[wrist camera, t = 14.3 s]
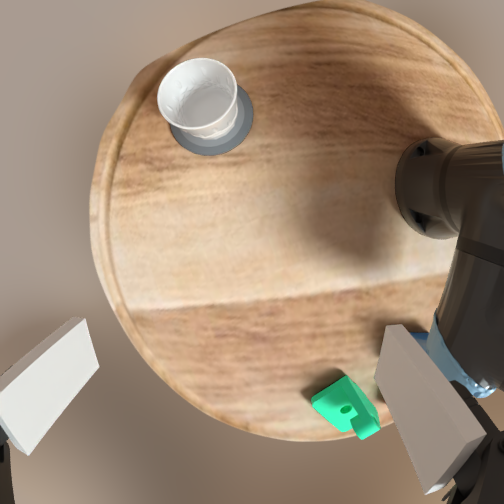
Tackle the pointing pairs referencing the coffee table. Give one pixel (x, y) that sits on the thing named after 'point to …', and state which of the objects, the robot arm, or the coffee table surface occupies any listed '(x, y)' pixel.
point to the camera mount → (347, 408)
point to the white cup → (200, 98)
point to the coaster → (225, 142)
